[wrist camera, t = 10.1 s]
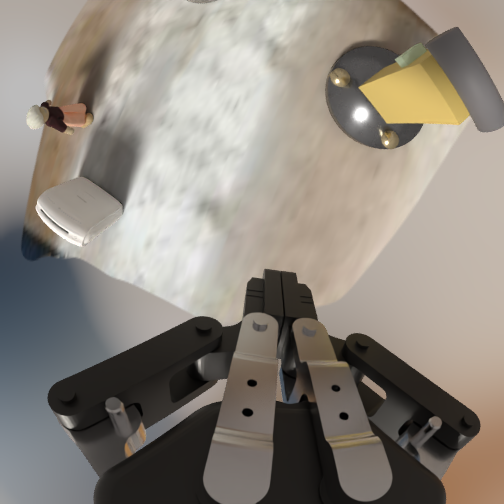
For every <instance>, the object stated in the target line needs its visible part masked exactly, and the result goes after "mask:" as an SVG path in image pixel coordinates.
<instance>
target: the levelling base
mask: <svg viewBox="0 0 504 504" xmlns="http://www.w3.org/2000/svg"><path fill="white" fill-rule="evenodd" d="M397 57H399V55H397V54H395V53H394V52H392V51H389V50H387V49H384V48H380V47H372V46H366V47H360V48H356V49H353V50H351V51H349V52H347V53H346V54H344V55H343V56H342V57H341V58H340V59H339V60H338V61H337V62H336V63H335V64H334V65H333V67H332V68H331V70H330V72H329V74H328V77H327V81H326V89H325V91H326V101H327V105H328V108H329V111H330V113H331V116H332V117H333V119H334V121H335V122H336V124H337V125H338V126H339V128H340V129H341V130H342V131H343V132H344V133H345V134H346V135H348V136H349V137H350V138H352V139H353V140H355V141H356V142H358V143H360V144H363V145H366V146H369V147H374V148H379V149H394V148H397V147H400V146H403V145H405V144H406V143H408V142H410V141H411V140H412V139H413V138H414V137H415V136H416V135H417V134H418V132H419V131H420V129H421V128H422V126H423V123H386V122H385V120H384V119H383V118H382V116H381V115H380V114H379V112H378V111H377V110H376V108H375V107H374V106H373V105H372V103H371V102H370V101H369V100H368V98H367V97H366V96H365V95H364V94H363V92H362V91H361V90H360V89H359V88H358V87H359V86H361V85H362V84H363V83H365V82H366V81H367V80H368V79H370V78H371V77H372V76H374V75H375V74H376V73H378V72H379V71H380V70H381V69H383V68H385V67H387V66H389V65H391V64H393V63H396V61H395V59H396V58H397Z"/></svg>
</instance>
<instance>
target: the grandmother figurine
mask: <svg viewBox="0 0 504 504" xmlns="http://www.w3.org/2000/svg"><path fill="white" fill-rule="evenodd" d="M51 103H52V102H51V100H47V101H46V102H43V103H42V104H41V107H39V106H38V105H34V106H32V107H31V108H30V109H29V111H28V113H27V120H26V122H27V125H28V126H29V127H30V128H31V129H38V128H40V127H42V126H43V124H44V123H46V125H47V126H49V127H53V128H55V129H56V130H58V131H60V132H64V133H68V134H69V135H72V134H73V133H74V129H73V128H70V127H69V126H73V127H74V126H80V127H82V128H85V127H87V126H88V125H90V124H91V123H92V122H93V116H92V114H91V113H87V114H85V112H86V106H85V104H83V103H78V104H72V105H66V106H61V107H52V106H50V105H51ZM67 125H68V126H67Z"/></svg>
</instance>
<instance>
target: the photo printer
mask: <svg viewBox="0 0 504 504" xmlns="http://www.w3.org/2000/svg"><path fill="white" fill-rule="evenodd" d="M122 207H123V206H122V204H121V203H120V202H119V201H117V200H116V199H115V198H114V197H112V196H111V195H110V194H108V193H107V192H106V191H104V190H103V189H101V188H100V187H99V186H97V185H96V184H94V183H93V182H91V181H90V180H88V179H86V178H84V177H78V178H75V179H72V180H70V181H67V182H65V183H62V184H60V185H57V186H55V187H52V188H50V189H48V190H46V191H45V192H44V193H43V194H42V195H41V196H40V197H39V199H38V201H37V205H36V210H37V212H38V214H39V216H40V217H41V219H42V220H43V221H44V222H45V223H46V224H47V225H48V226H49V227H50V228H51V229H52V230H53V231H54V232H56V233H57V234H58V235H59V236H61V237H62V238H64V239H66V240H67V241H69V242H71V243H73V244H75V245H78V246H81V247H84V246H86V245H87V244H88V243H90V242H91V241H92V240H93V239H95V238H96V237H97V236H99V235H100V234H101V233H102V232H104V231H105V230H106V229H108V228H109V227H110V226H112V225H113V224H114V223H115V222H116V221H117V220H119V219H120V218H121V216H122V214H123V208H122Z"/></svg>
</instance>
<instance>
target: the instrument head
mask: <svg viewBox="0 0 504 504" xmlns="http://www.w3.org/2000/svg"><path fill="white" fill-rule="evenodd" d="M425 46H426V48H427V50H426V48H425V47H424V46H423V45H422V43H421V42H420V43H418V44H416V45H414V46H413V47H411V48H410V49H408V50H407V51H406V52H404V53H403V54H401V55H400V56H399V57H397V58H396V59H395V61H396V63H393V64H391V65H389V66H387V67H385V68H383V69H381V70H380V71H379V72H378V73H376V74H375V75H374V76H372V77H371V78H370V79H368V80H367V81H366V82H365V83H363V84H362V85H361V86H359V87H358V88H359V89H360V90H361V91H362V92H363V94H364V95H365V96H366V97H367V98H368V100H369V101H370V102H371V103H372V105H373V106H374V107H375V108H376V110H377V111H378V112H379V114H380V115H381V116H382V118H383V119H384V120H385V122H386V123H429V124H453V125H460V124H461V123H462V122H463V121H464V120H465V119H466V118H467V117H468V116H469V115H470V116H471V117H472V119H473V121H474V123H475V125H476V127H477V129H478V130H479V131H481V132H491V131H495V130H498V129H500V128H501V127H503V126H504V102H503V100H502V98H501V96H500V94H499V92H498V90H497V88H496V86H495V85H494V83H493V81H492V79H491V77H490V75H489V74H488V72H487V70H486V69H485V67H484V65H483V63H482V62H481V60H480V59H479V57H478V55H477V54H476V52H475V51H474V49H473V48H472V46H471V45H470V43H469V42H468V40H467V39H466V37H465V36H464V35H463V33H462V32H461V30H460V29H459V28H458V27H455V28H452V29H450V30H448V31H445V32H444V33H442V34H440V35H438V36H437V37H435V38H433V39H432V40H430V41H429V42H428V43H426V44H425Z"/></svg>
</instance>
